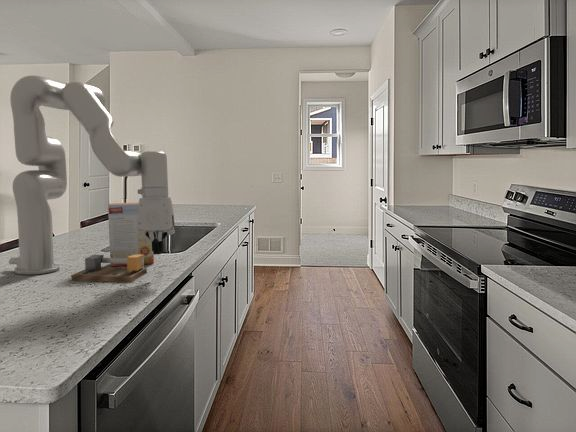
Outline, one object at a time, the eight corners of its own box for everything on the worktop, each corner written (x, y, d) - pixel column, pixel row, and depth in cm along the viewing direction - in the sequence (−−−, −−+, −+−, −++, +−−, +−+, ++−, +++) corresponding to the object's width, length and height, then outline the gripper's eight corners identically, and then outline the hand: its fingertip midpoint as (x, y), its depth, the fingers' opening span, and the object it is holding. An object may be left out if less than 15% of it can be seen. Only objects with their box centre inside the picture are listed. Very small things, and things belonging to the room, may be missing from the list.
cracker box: (151, 260, 170) (150, 201, 168) (154, 264, 164) (152, 203, 162) (109, 263, 165) (107, 202, 162) (110, 267, 159) (108, 204, 157)
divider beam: (76, 273, 142) (75, 260, 142) (91, 267, 151) (91, 254, 151) (132, 275, 141) (132, 261, 140) (144, 268, 150) (144, 255, 150)
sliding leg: (122, 273, 141) (122, 259, 141) (134, 266, 150) (134, 253, 150) (132, 273, 141) (132, 259, 140) (144, 267, 150) (143, 254, 150)
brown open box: (71, 280, 140) (71, 274, 140) (91, 271, 152) (90, 266, 152) (131, 281, 139) (131, 276, 139) (146, 272, 151) (146, 267, 151)
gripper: (125, 194, 140) (128, 256, 142) (176, 193, 139) (178, 256, 141) (135, 192, 148) (138, 251, 150) (183, 192, 147) (185, 251, 148)
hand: (157, 253), depth 145 cm, fingers closed
